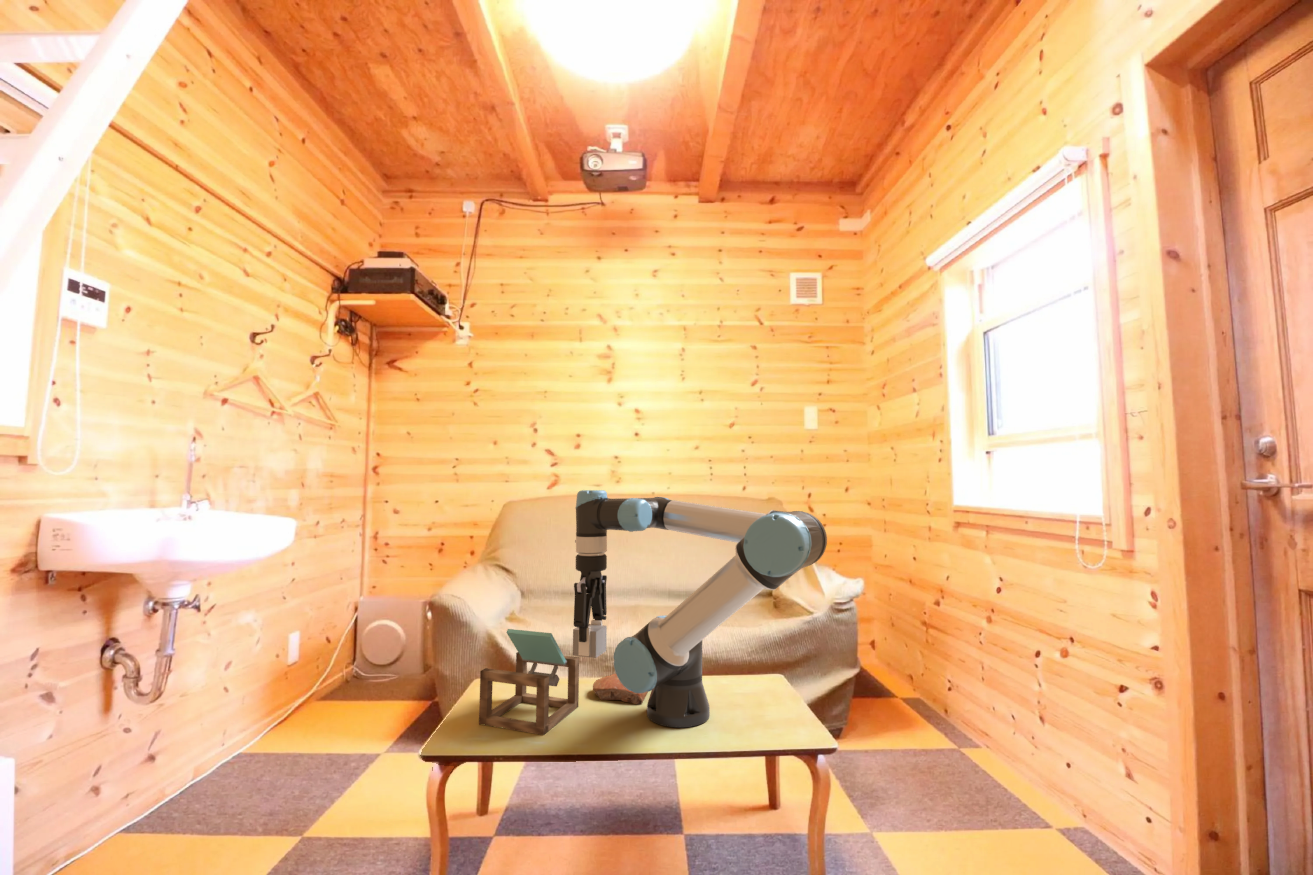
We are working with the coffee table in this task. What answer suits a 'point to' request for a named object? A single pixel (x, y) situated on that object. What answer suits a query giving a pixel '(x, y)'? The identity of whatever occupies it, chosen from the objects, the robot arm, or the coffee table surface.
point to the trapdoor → (538, 651)
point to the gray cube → (592, 640)
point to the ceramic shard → (616, 690)
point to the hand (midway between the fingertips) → (590, 651)
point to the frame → (527, 697)
